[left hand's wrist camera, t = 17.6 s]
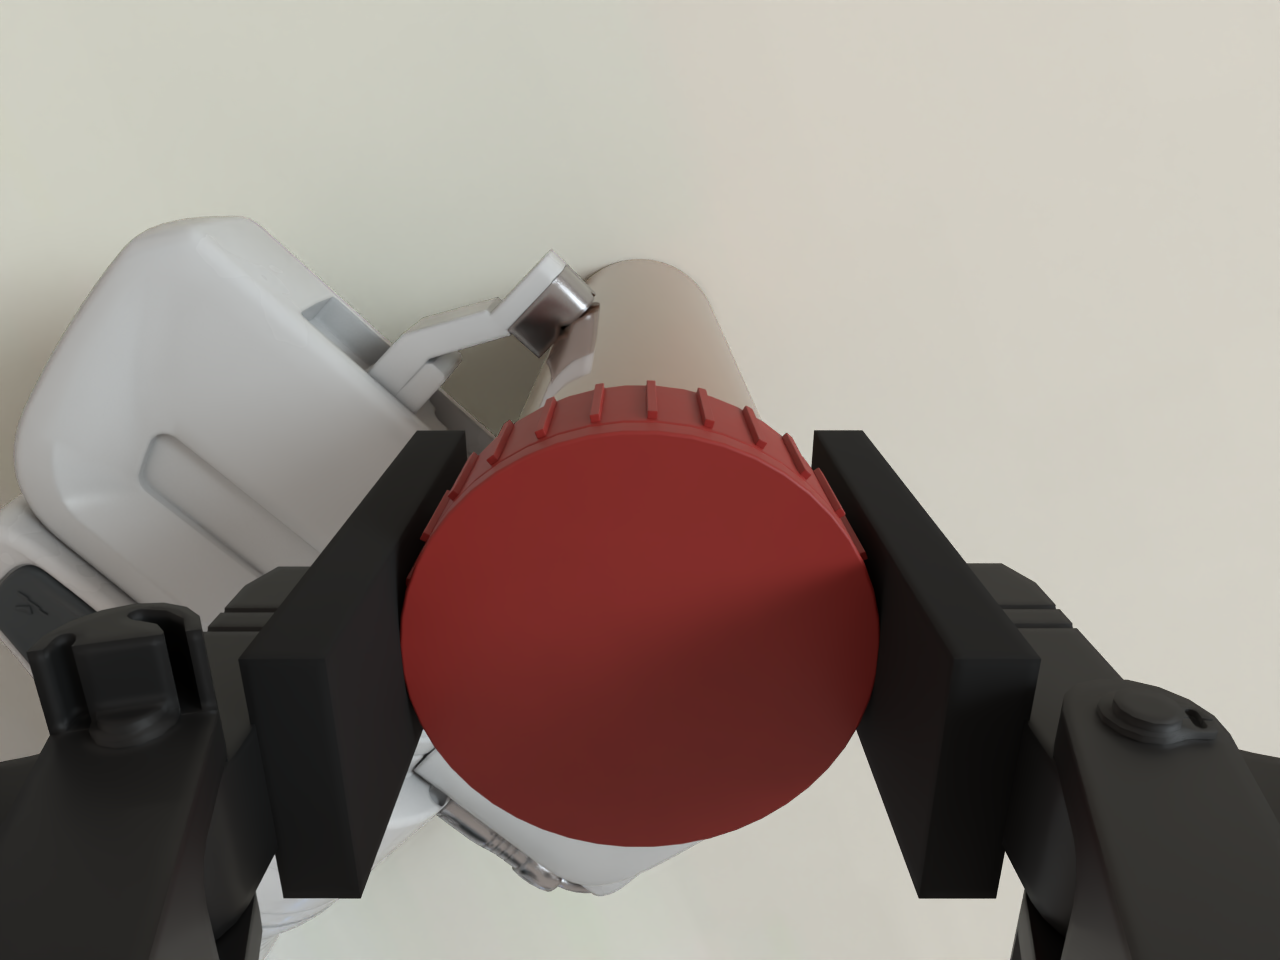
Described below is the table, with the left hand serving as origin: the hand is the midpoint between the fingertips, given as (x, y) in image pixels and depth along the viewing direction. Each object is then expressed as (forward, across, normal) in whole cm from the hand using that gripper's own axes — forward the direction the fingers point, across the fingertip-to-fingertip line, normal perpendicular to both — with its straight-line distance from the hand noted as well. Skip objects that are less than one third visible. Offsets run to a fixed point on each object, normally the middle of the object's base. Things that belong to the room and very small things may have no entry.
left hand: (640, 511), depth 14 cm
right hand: (+7, -1, -1) cm, 7 cm away
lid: (-4, 0, 0) cm, 4 cm away
